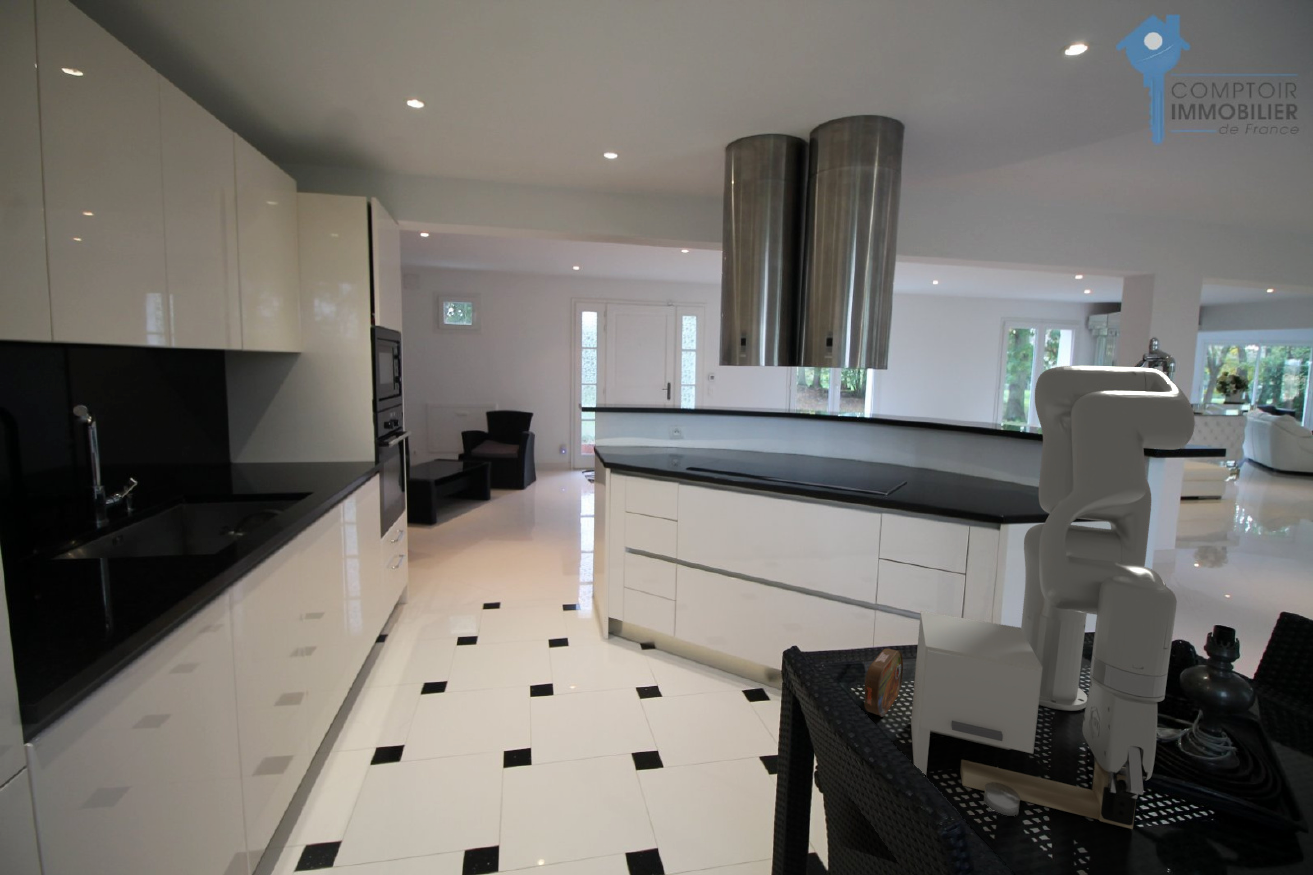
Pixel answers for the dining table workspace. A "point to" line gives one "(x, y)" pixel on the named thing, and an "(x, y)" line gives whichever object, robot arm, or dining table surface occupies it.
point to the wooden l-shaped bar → (1044, 789)
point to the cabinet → (974, 685)
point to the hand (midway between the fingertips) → (1110, 808)
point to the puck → (1002, 798)
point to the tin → (883, 681)
